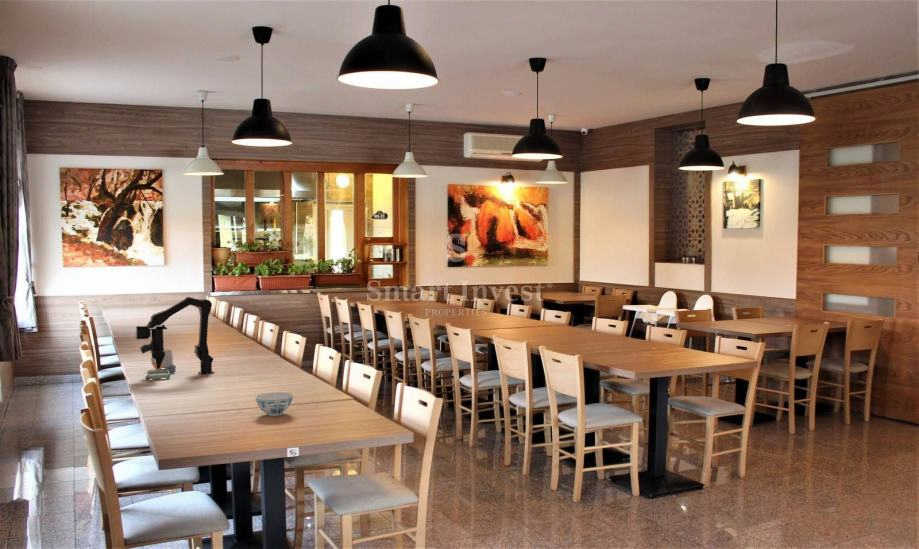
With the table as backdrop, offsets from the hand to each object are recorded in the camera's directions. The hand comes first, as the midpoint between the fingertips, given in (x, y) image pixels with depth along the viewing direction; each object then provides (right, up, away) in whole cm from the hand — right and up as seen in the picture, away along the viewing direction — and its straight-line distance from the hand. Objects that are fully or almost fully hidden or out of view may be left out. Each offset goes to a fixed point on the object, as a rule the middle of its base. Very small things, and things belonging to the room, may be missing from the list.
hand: (158, 368), depth 407 cm
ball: (0, +1, 0) cm, 1 cm away
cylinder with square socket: (+1, -4, +14) cm, 15 cm away
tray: (0, -5, 0) cm, 5 cm away
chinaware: (+81, -9, -87) cm, 119 cm away
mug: (-8, -4, +28) cm, 30 cm away
